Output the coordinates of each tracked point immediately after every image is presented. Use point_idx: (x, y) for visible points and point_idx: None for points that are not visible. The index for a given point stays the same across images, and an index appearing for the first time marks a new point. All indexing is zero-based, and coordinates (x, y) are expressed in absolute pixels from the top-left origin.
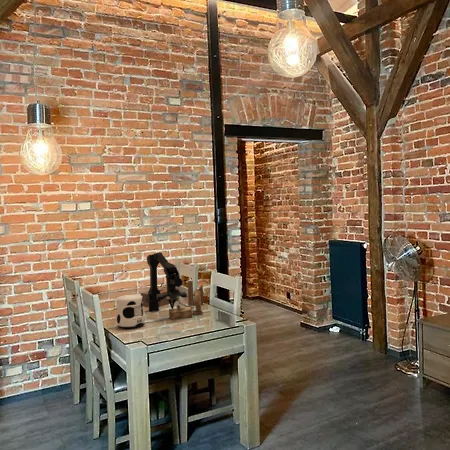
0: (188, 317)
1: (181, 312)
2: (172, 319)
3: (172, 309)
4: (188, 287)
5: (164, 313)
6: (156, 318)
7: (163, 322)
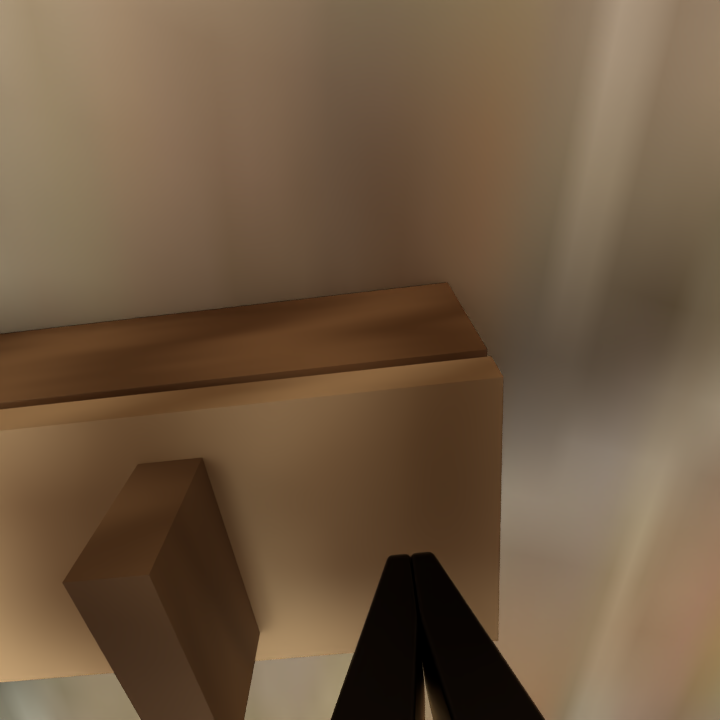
0: (22, 332)
1: (120, 384)
2: (402, 289)
3: None
4: None
5: None
6: (707, 462)
7: (673, 46)
